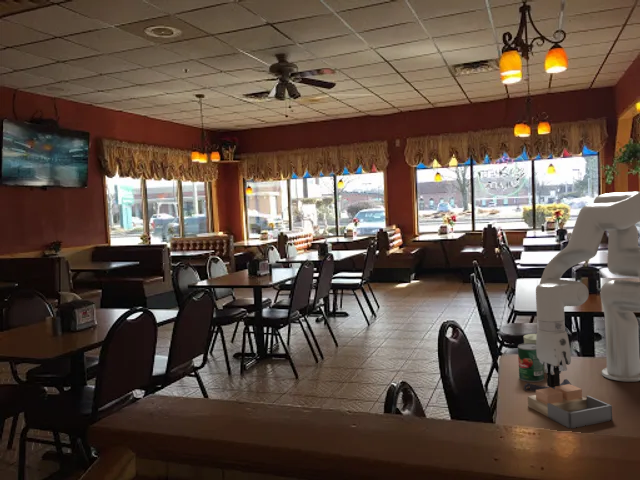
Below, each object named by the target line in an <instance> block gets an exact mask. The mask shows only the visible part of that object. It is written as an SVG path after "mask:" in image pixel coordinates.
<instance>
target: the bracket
mask: <svg viewBox="0 0 640 480" xmlns="http://www.w3.org/2000/svg"><path fill="white" fill-rule="evenodd" d="M567 384H571V385H573V384H572V383H571V382H570V381H569V380H568V379H567V378H566V379H563V381H562V382H560V386H561V385H567ZM528 387H529V388H528ZM544 388H550V387H549V386H547V385H546V386H545V385H543V386H542V385H538V384H533V383H531V382H527V383H525V384H524V386H523V389H524V391H525V392H526V391H528V392H529V391H530V392H531V391H535V392H536V390H539V389H544ZM553 389H555V387H553Z"/></svg>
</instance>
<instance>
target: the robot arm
mask: <svg viewBox="0 0 640 480" xmlns="http://www.w3.org/2000/svg"><path fill="white" fill-rule="evenodd" d="M639 222H640V191H625V192H623V191H622V192H621V191H620V192H609V193H608V192H607V193H603V194H599V195H597V196H596V197H595V198H594V200H593V203H590V204H586V205H584V206H582V208H581V209H580V210H579V212H578V215H577V218H576V221H575V223H574V226H573V228H572V232H571V234H570V237H569V239H568V244H567V245H566V246H565V247H564V248H563V249H562V250H560V251H559V252H558V253H556V254H555V256H554V257H553V258H552V259H551V260H550V261H549V262H548V263H547V264H546V266H545V268H544V269H543V272H542V275H541V277H540V282H539V284H538V285H537V286H536V288H535V303H536V304H535V305H536V325H537V326H536V328H537V329H536V334H537V336H536V353H537V358H538V359H539V361H540V363H542V364H543V365H544V367H545V372H546V387H551V388H553V387H555V386H560V384H561V379H560V374H561V373H562V372H565V371H567V370H568V368H567V365H571V363H572V357H571V347H570V340H569V336H568V333H567V331H566V325H565V308H566V307H577V306H581V305H583V304H585V303H586V302H587V301H588V299H589V295H590V294H589V289H588V286H586V285H585V283H583V282H581V281H577V280H571V279H570V280H569V279H562V276H563V275H564V274H565V273H566V271H568V270H569V269H570V268H572V267H574V266H576V265H578V264H581V263H583V262H586V261H588V260H591V259H593V258H595V257H596V256H597V253H598V251H599V247H600V245H601V242H602V239H603V237H604V233H605V232H606V231H607V233H608V242H607V245H608V246H607V269H608V271H609V273H611V274H612V275H614V276H619V277H620V276H621V277H630V278H631V277H632V278H639V279H640V246H639V230H638V228H637V225H636V224H638V223H639ZM599 292H600V295H599V296H600V299H601V304H602V308H603V314H604V325H605V326H604V328H605V329H604V330H605V351H606V352H605V353H606V355H605V356H606V357H605V358H606V367H605V368H603V369H602V370H601V375H602V376H603V377H605V378H606V379H609V380H612V381H616V382H617V381H618V382H627V383H630V382H632V383H633V382H640V338H639V337H640V336H639V335H640V334H639V322H638V319H637V316H636V315H635V313H634V312H637V313H640V281H632V280H623V279H611V280H608V281H606V282H605V283H603V285H602V286H601V288H600V291H599Z"/></svg>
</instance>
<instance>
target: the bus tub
mask: <svg viewBox="0 0 640 480" xmlns="http://www.w3.org/2000/svg"><path fill="white" fill-rule="evenodd" d="M585 398H586V399H587V408H585V409H580V410H574V411H569V412H567V411H565V410H563V409H561V408H559V407H557V406H555V405H553V404H550V403H547V406H548V417H547V418H548V419H550V420H552V421H554V422H556V423H558V424H559V425H561V426H564V427H565V426H566V427H565V428H567V429H569V428H572V429H575V428H576V427H577V428H582V427H585V425H586V426H590V425H595V424H600V423H605V422H610V420H611V421H613V406H612V404H610V403H607V402H604V401H603V400H599V399H597V398H595V397H592V396H590V395H586V397H585ZM577 428H576V429H577Z"/></svg>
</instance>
